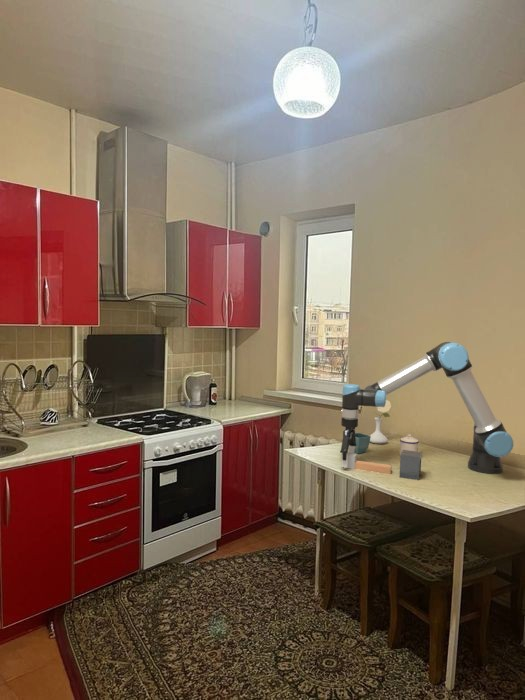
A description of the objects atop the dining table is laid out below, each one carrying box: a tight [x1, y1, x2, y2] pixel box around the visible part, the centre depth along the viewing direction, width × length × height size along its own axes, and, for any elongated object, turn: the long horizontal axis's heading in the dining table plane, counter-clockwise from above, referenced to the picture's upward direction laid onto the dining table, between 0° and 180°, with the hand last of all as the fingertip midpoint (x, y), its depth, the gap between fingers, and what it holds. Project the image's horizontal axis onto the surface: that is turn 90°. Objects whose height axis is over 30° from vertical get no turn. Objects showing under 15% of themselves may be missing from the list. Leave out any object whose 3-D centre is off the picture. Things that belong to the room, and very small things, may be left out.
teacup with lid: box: [399, 433, 420, 457], centre depth 254 cm, size 12×9×12 cm
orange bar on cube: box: [344, 452, 393, 475], centre depth 230 cm, size 22×5×6 cm, turn 68°
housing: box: [399, 450, 423, 481], centre depth 223 cm, size 8×10×10 cm
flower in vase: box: [369, 399, 392, 444], centre depth 280 cm, size 13×11×25 cm
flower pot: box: [349, 432, 371, 454], centre depth 260 cm, size 9×9×9 cm
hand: (347, 463), depth 234 cm, fingers open, 13 cm apart
